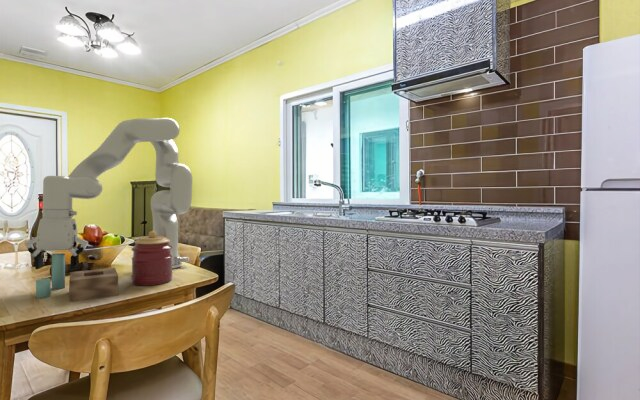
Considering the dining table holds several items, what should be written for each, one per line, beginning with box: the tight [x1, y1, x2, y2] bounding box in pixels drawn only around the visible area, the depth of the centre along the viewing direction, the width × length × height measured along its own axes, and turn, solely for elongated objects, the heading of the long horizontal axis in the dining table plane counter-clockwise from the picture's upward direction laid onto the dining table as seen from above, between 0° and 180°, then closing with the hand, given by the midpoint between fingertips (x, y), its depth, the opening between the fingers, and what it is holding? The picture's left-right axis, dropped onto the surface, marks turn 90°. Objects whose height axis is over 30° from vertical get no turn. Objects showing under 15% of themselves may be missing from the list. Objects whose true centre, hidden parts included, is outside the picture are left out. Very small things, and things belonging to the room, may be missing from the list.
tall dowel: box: [51, 252, 66, 290], centre depth 112 cm, size 3×3×11 cm
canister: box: [130, 230, 173, 286], centre depth 122 cm, size 13×13×18 cm
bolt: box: [49, 262, 95, 277], centre depth 132 cm, size 6×5×15 cm
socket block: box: [68, 267, 119, 303], centre depth 107 cm, size 12×12×6 cm
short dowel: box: [35, 277, 52, 299], centre depth 103 cm, size 3×3×5 cm
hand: (56, 268), depth 112 cm, fingers open, 9 cm apart
